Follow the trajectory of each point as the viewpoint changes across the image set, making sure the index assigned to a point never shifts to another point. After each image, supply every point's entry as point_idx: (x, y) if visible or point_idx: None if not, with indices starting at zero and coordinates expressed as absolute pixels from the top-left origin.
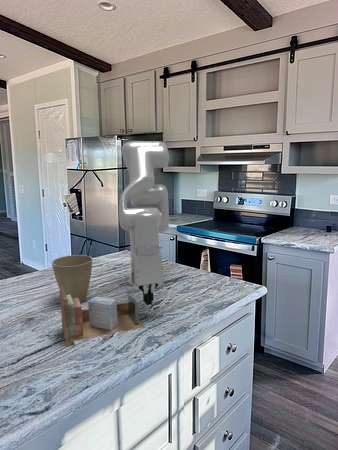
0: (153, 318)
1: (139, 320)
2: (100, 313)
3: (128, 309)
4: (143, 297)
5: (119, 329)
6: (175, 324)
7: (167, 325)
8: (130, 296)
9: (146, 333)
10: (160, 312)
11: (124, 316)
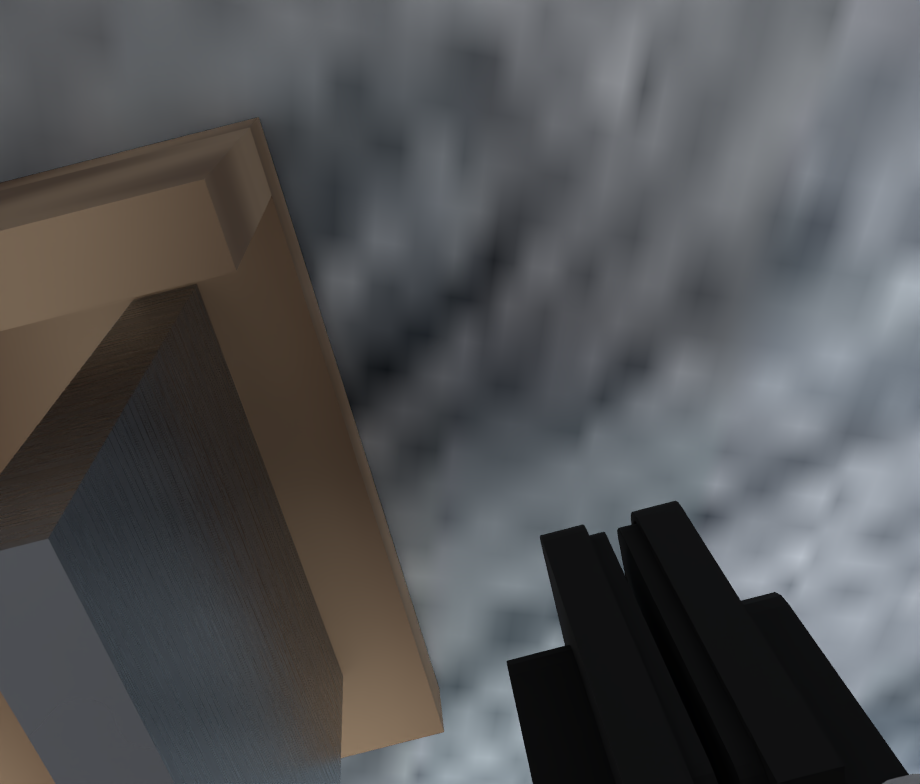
0: (633, 333)
1: (362, 537)
2: None
3: (95, 353)
4: (527, 756)
5: (28, 775)
6: (910, 575)
7: (788, 591)
8: (46, 629)
9: (446, 760)
10: (833, 83)
11: (43, 342)
